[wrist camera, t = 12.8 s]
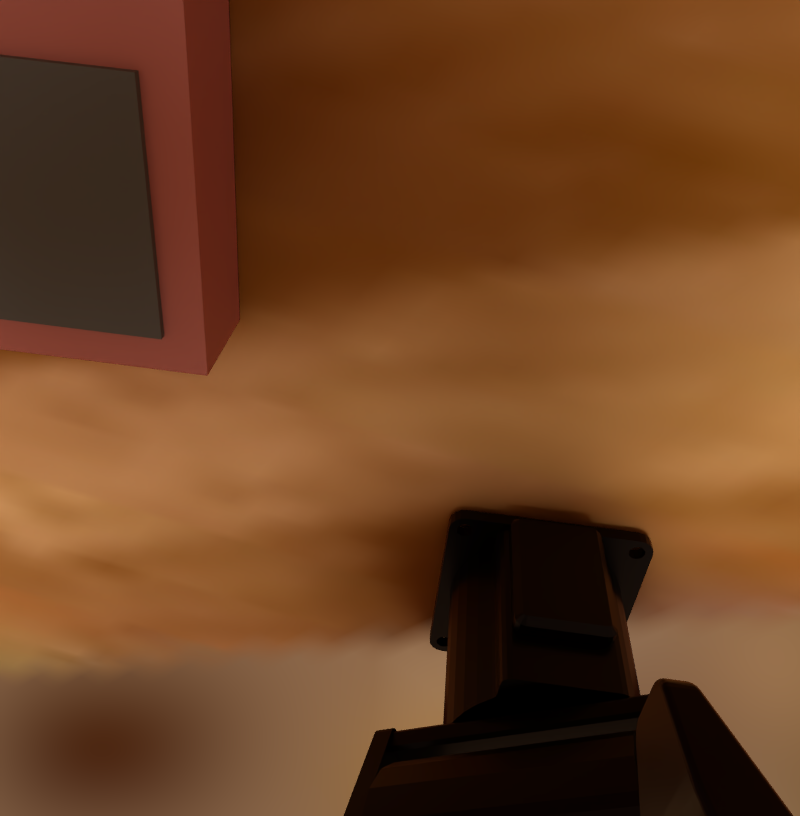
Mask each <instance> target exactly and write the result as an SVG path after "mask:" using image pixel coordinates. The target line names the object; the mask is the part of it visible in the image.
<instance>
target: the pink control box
mask: <svg viewBox="0 0 800 816" xmlns="http://www.w3.org/2000/svg"><path fill="white" fill-rule="evenodd" d="M239 320H240V314H239V285H238V255H237V226H236V197H235V168H234V138H233V109H232V80H231V51H230V21H229V0H0V349H3V350H11V351H18V352H26V353H34V354H42V355H50V356H58V357H65V358H73V359H81V360H89V361H97V362H105V363H112V364H120V365H128V366H136V367H144V368H152V369H159V370H167V371H175V372H183V373H191V374H199V375H206V376H207V375H208V374H209V372H210V370H211V369H212V367H213V365H214V363H215V362H216V360H217V358H218V356H219V355H220V353H221V351H222V350H223V348H224V346H225V344H226V343H227V341H228V339H229V338H230V336H231V334H232V332H233V331H234V329H235V327H236V326H237V324H238V322H239Z"/></svg>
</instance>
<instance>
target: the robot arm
mask: <svg viewBox="0 0 800 816" xmlns="http://www.w3.org/2000/svg"><path fill="white" fill-rule="evenodd" d="M462 524H466V525H469V526H470V527H466V528H463V527H460V525H462ZM635 547H640V549H638V550H632V549H633V548H635ZM652 556H653V548H652V544H651V541H650V539H649V537H647V536H646V535H645V534H641V533H636V532H629V531H621V530H614V529H606V528H598V527H591V526H583V525H576V524H568V523H560V522H553V521H545V520H538V519H530V518H522V517H515V516H507V515H500V514H492V513H484V512H477V511H469V510H460V511H457V512H455V513H454V514H453V515H451V518H450V520H449V526H448V531H447V537H446V543H445V549H444V555H443V561H442V567H441V573H440V578H439V584H438V590H437V596H436V602H435V608H434V614H433V620H432V626H431V632H430V644H431V645H432V646H433V647H434V648H436V649H438V650H441V651H447V665H446V684H445V703H444V721H443V725H436V726H429V727H421V728H415V729H408V730H401V731H396V729H395V728H392V729H386V730H379V731H376V732H375V734H374V737H373V739H372V742H371V745H370V747H369V750H368V753H367V755H366V758H365V760H364V763H363V766H362V768H361V771H360V774H359V776H358V779H357V782H356V785H355V787H354V790H353V792H352V795H351V797H350V800H349V803H348V806H347V808H346V811H345V814H344V816H793V815H792V813H791V812H790V811H789V809H788V808H787V807H786V805H785V804H784V802H783V801H782V800H781V798H780V797H779V796H778V794H777V793H776V792H775V790H774V789H773V788H772V786H771V785H770V784H769V782H768V781H767V780H766V778H765V777H764V776H763V774H762V773H761V772H760V770H759V769H758V767H757V766H756V765H755V763H754V762H753V761H752V760H751V758H750V757H749V755H748V754H747V752H746V751H745V750H744V748H743V747H742V746H741V745H740V743H739V742H738V740H737V739H736V738H735V736H734V735H733V734H732V732H731V731H730V729H729V728H728V727H727V725H726V724H725V723H724V721H723V720H722V719H721V718H720V716H719V715H718V713H717V712H716V711H715V710H714V708H713V707H712V705H711V704H710V703H709V701H708V700H707V698H706V697H705V696H704V694H703V693H702V692H701V690H700V689H699V688H698V687H697V686H695V685H694V684H693V683H690V682H686V681H679V680H672V679H664V678H663V679H659V680H657V681H656V682H655V683H654V685H653V687H652V689H651V691H650V694H648V695H640V690H639V685H638V680H637V675H636V669H635V664H634V659H633V654H632V648H631V643H630V638H629V633H628V627H627V620H628V618H629V615H630V613H631V610H632V607H633V605H634V602H635V600H636V597H637V595H638V592H639V589H640V587H641V584H642V582H643V579H644V577H645V574H646V571H647V569H648V566H649V564H650V561H651V559H652ZM443 637H444V638H443Z"/></svg>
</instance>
